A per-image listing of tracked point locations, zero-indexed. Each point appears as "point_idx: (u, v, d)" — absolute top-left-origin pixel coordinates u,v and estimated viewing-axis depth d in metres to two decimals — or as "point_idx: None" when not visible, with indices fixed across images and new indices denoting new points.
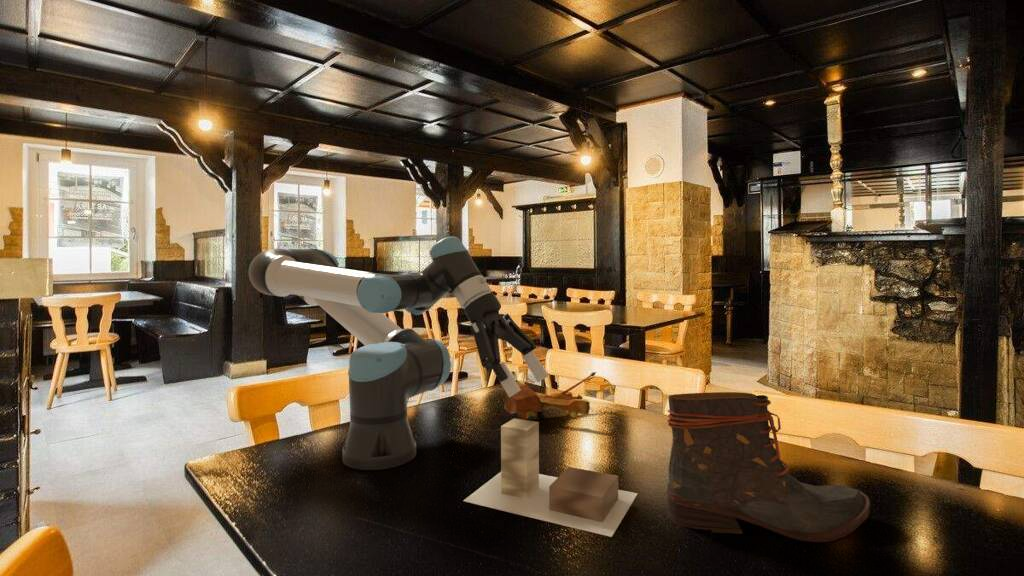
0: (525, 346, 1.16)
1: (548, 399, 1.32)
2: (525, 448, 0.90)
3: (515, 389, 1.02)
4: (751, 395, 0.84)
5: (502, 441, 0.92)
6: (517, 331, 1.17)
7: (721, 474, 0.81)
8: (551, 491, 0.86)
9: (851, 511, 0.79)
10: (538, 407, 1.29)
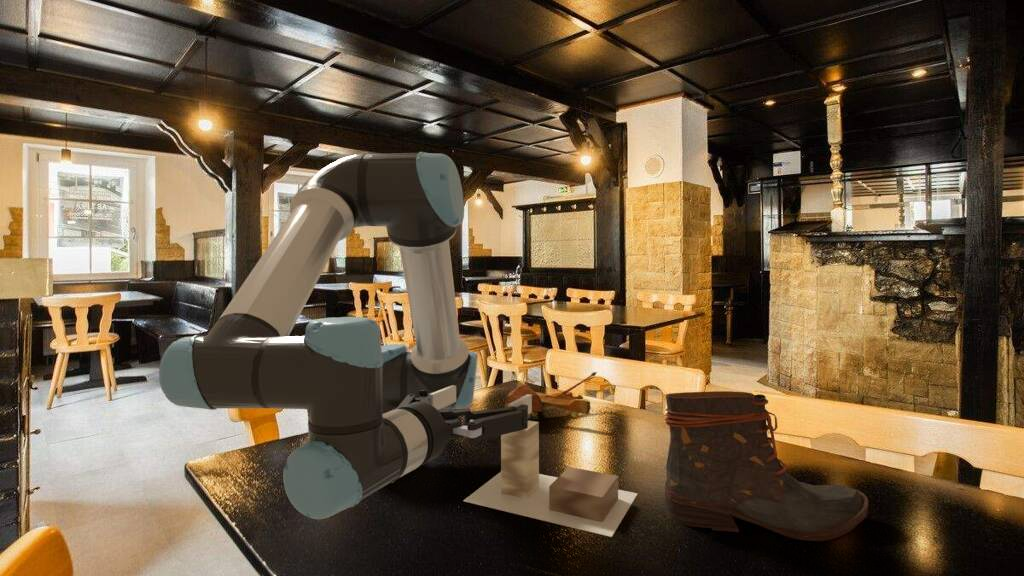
0: None
1: (549, 399, 1.33)
2: (525, 448, 0.90)
3: None
4: (749, 394, 0.85)
5: (502, 441, 0.92)
6: None
7: (718, 472, 0.81)
8: (551, 491, 0.86)
9: (848, 511, 0.79)
10: (539, 407, 1.29)
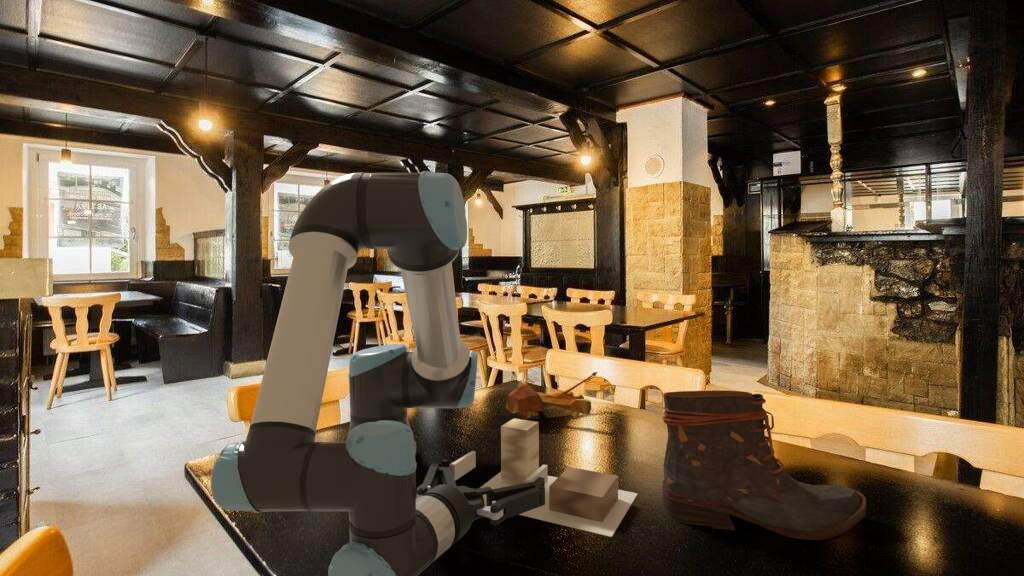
0: None
1: (550, 399, 1.33)
2: (525, 448, 0.90)
3: None
4: (747, 394, 0.85)
5: (502, 441, 0.92)
6: None
7: (715, 471, 0.82)
8: (551, 491, 0.86)
9: (846, 511, 0.79)
10: (540, 407, 1.29)
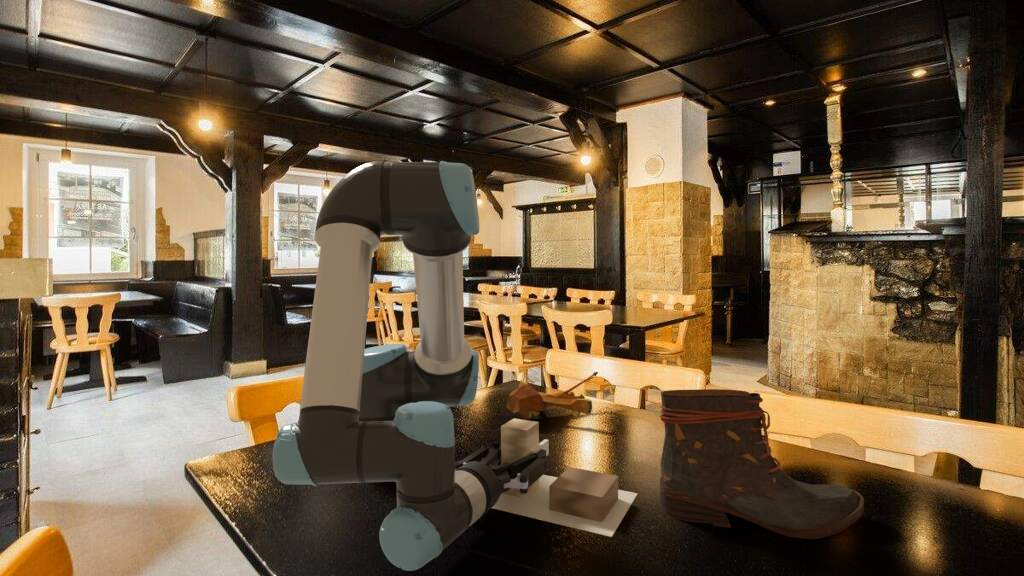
0: None
1: (551, 398, 1.33)
2: (525, 448, 0.90)
3: None
4: (744, 393, 0.86)
5: (502, 441, 0.92)
6: None
7: (711, 469, 0.83)
8: (551, 491, 0.86)
9: (842, 510, 0.79)
10: (541, 406, 1.30)
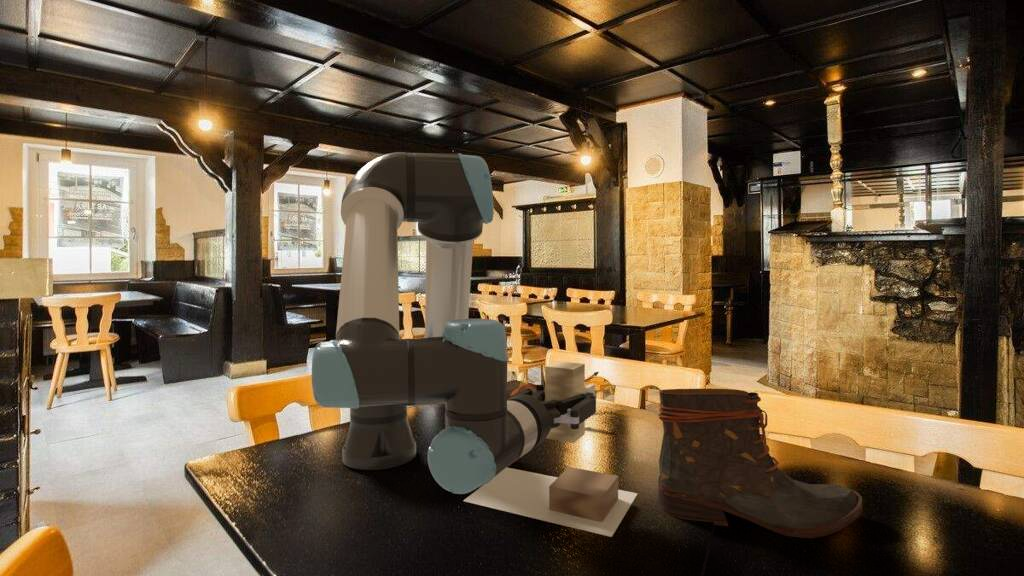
0: None
1: None
2: (572, 388, 0.84)
3: None
4: (743, 392, 0.86)
5: (546, 382, 0.86)
6: None
7: (708, 467, 0.83)
8: (551, 491, 0.86)
9: (840, 510, 0.79)
10: None
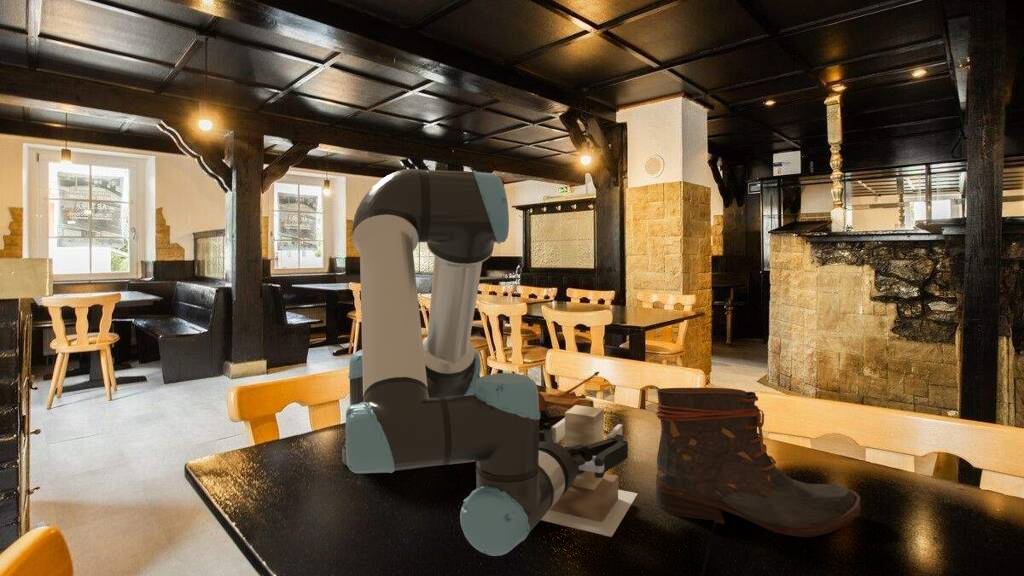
0: None
1: (552, 398, 1.33)
2: (593, 436, 0.84)
3: None
4: (741, 391, 0.87)
5: (566, 428, 0.86)
6: None
7: (705, 466, 0.84)
8: None
9: (837, 509, 0.80)
10: (542, 406, 1.30)
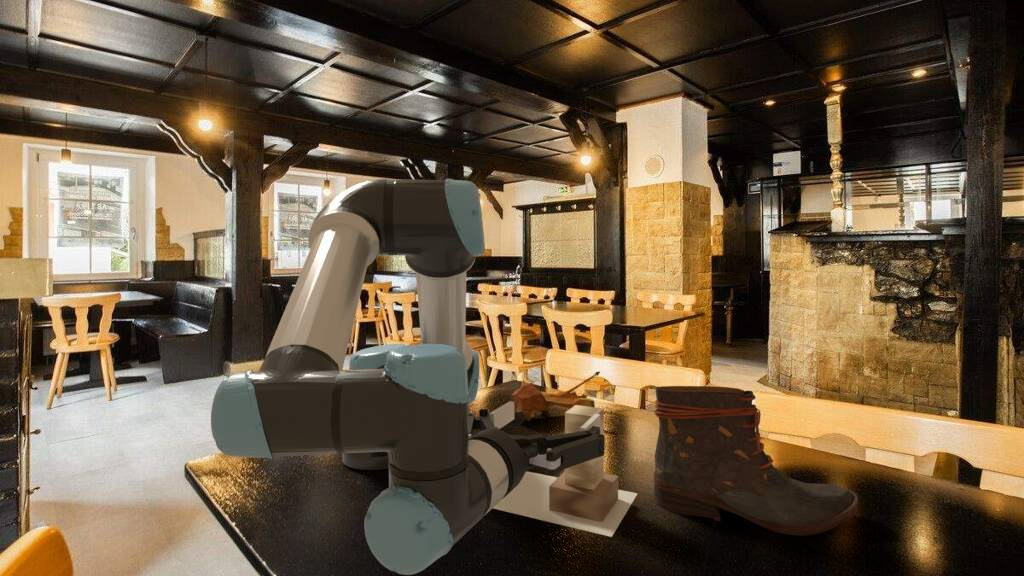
0: None
1: (553, 398, 1.33)
2: None
3: None
4: (738, 390, 0.87)
5: (566, 428, 0.86)
6: None
7: (702, 463, 0.85)
8: (551, 491, 0.86)
9: (833, 509, 0.80)
10: (543, 406, 1.30)
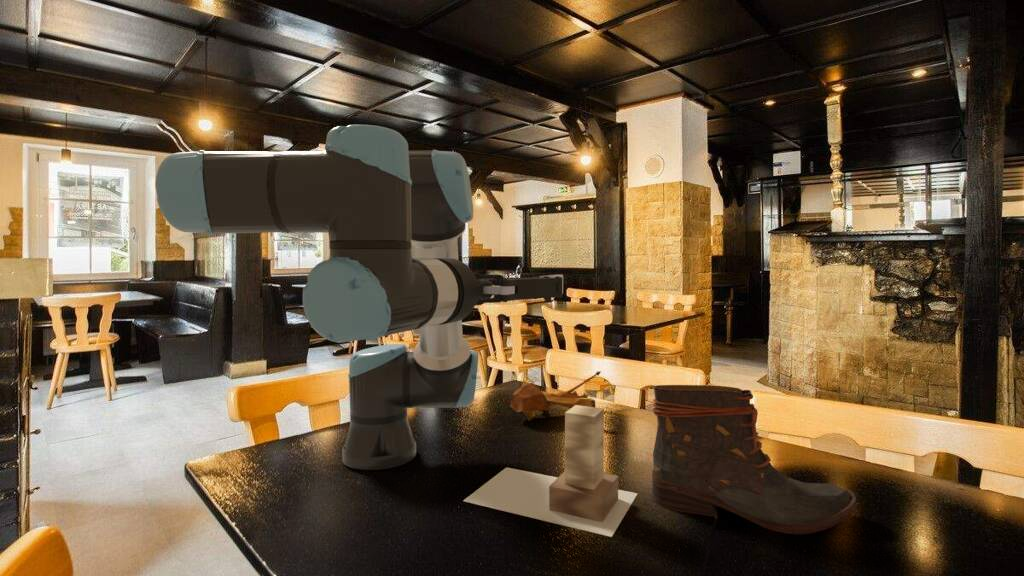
0: None
1: (554, 398, 1.34)
2: (593, 436, 0.84)
3: None
4: (737, 389, 0.88)
5: (566, 428, 0.86)
6: None
7: (699, 461, 0.86)
8: (551, 491, 0.86)
9: (830, 508, 0.80)
10: (544, 406, 1.30)
